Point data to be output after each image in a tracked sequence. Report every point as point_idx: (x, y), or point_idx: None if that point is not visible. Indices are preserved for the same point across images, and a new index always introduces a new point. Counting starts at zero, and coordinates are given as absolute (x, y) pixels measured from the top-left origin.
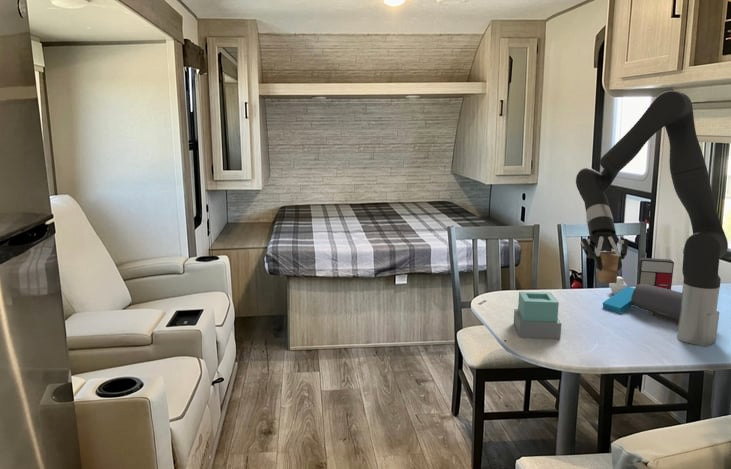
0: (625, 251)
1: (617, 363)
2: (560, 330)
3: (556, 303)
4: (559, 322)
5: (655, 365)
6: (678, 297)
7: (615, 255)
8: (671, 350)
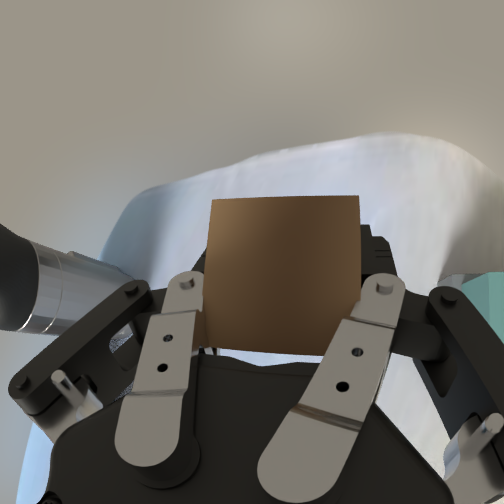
0: (111, 302)
1: (336, 154)
2: (446, 278)
3: (492, 273)
4: (456, 281)
5: (260, 156)
6: None
7: (241, 199)
8: (188, 240)
